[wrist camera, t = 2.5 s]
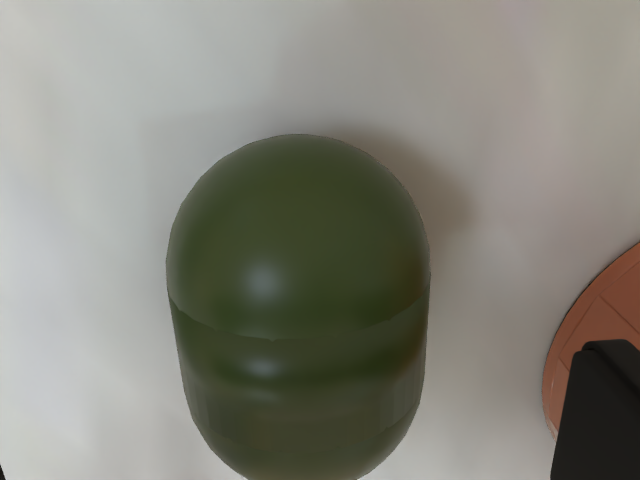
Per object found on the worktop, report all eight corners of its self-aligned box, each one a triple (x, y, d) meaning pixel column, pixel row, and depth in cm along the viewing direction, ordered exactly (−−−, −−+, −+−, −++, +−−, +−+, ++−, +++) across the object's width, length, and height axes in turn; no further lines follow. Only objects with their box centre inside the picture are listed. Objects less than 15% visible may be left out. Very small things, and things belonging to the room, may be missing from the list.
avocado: (174, 115, 12) (105, 191, 7) (404, 105, 12) (481, 173, 8) (212, 387, 15) (180, 563, 11) (395, 375, 16) (445, 542, 11)
